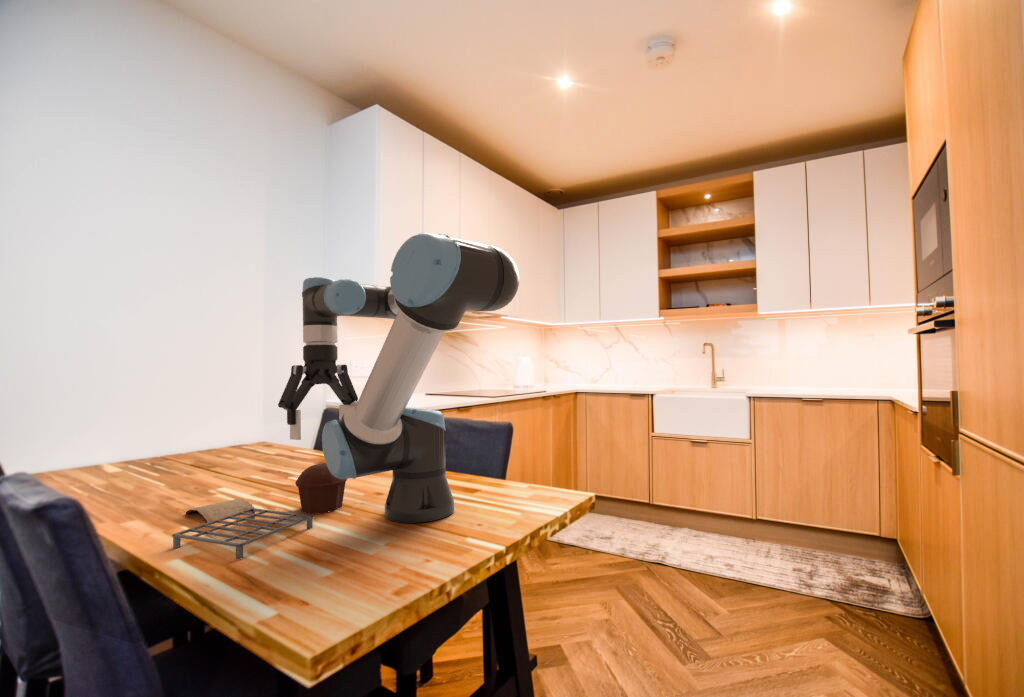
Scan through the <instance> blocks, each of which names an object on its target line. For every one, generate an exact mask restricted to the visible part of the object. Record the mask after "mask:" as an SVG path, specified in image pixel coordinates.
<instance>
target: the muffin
mask: <svg viewBox="0 0 1024 697" xmlns="http://www.w3.org/2000/svg"><path fill="white" fill-rule="evenodd" d="M347 480H348V479H338V478H336V477H334V476H333V475H332V474H331V472H330V471H329V469H328V467H327V464H326V462H324V463H323V462H322V463H317V464H313V465H310V466H308V467H306V469H304V470H303V471H302V472H301V473H300V474H299V476H298V477H297V480H296V481H295V486H296V487H297V488H298V489H297V490H298V495H299V500H300V508H301V512H306V513H305V514H308V513H310V514H309V515H313V514H312V513H320V514H325V513H324V512H327V513H329V512H328V511H331V512H334V511H333V510H336V511H337V510H338V508H339V509H341V508H343V501H344V494H345V489H346V484H347V483H346V482H347ZM340 507H341V508H340Z"/></svg>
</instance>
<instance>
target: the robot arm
mask: <svg viewBox="0 0 1024 697" xmlns="http://www.w3.org/2000/svg"><path fill="white" fill-rule="evenodd" d="M390 272H391V273H392V274H391V276H390V277H389V284H390V286H385V285H384V286H383V285H382V286H380V285H374V284H366V283H365V284H364V283H359V282H357V281H356V280H354V279H347V278H346V279H338V280H335V279H333V278H330V277H324V276H323V277H319V276H318V277H317V276H315V277H307V278H305V279H304V280H303V282H302V291H301V297H302V342H303V343H304V344H305V345H304V346H303V347H302V360H303V361H304V365H302V364H298V365H297V364H294V365H292V366H291V369H290V376H289V378H288V381H287V382H286V385H285V388H284V390H283V392H282V395H281V397H280V399H279V401H278V404H277V406H278V407H279V408H281V409H283V410H284V411H285V410H286V424H287V425H288V426H289V439H290V440H294V441H299V440H300V441H301V440H302V434H301V433H302V432H301V431H302V430H301V429H302V425H301V424H302V423H301V422H302V421H301V420H302V418H301V416H302V415H301V414H302V413H301V409H298V408H299V407H300V405H301V404H302V402H303V400H304V399H305V397H307V395H308V393H309V392H310V391H311V389H312V388H313V387H314V386H315V385H327V386H329V387H330V389H331V390H332V391H333V393H334V394H335V395H336V397H337V398H338V399H339V401H340V402H341V403H342V404H338V405H339V409H338V410H339V411H338V412H339V413H338V414H339V416H338V417H339V419H332V420H329V421H327V422H326V423H325V424H324V427H323V429H322V434H321V443H322V444H321V445H322V452H323V457H324V460H325V463H326V464H327V467H328V469H329V471H330V472H331V474H332V475H333V476H334V477H336V478H338V479H347V480H348V479H353V480H355V479H356V478H362V477H366V476H370V475H376V474H382V473H386V472H390V471H392V479H391V480H392V481H391V484H390V486H389V491H388V494H387V496H386V500H385V503H384V517H385V518H386V519H387V520H389V521H392V522H396V523H404V524H406V523H408V524H411V523H412V524H413V523H414V524H417V523H418V524H419V523H427V522H433V521H437V520H440V519H441V520H442V519H443V518H447V517H449V516H451V515H452V514H453V513H454V512H455V498H454V496H453V493H452V491H451V488H450V484H449V481H448V478H447V475H446V474H447V473H446V470H447V469H446V431H447V429H446V424H445V416H444V414H443V413H442V412H441V411H440V410H437V409H436V410H435V409H424V408H413V407H411V408H410V407H407V406H408V403H409V401H410V400H411V398H412V396H413V393H414V392H415V390H416V388H417V386H418V384H419V382H420V380H421V378H422V377H423V374H424V373H425V370H426V369H427V366H428V365H429V363H430V361H431V359H432V358H433V355H434V353H435V351H436V350H437V347H438V345H439V343H440V341H441V339H442V337H443V336H444V334H445V333H447V332H452V331H454V330H455V329H457V327H458V326H459V324H460V322H461V320H462V318H463V316H464V314H465V313H466V312H467V311H468V312H469V311H470V312H471V311H472V312H495V311H498V310H501V309H503V308H504V307H506V306H508V305H509V303H511V302H512V301H513V299H514V298H515V296H516V295H517V292H518V289H519V286H520V274H519V270H518V266H517V264H516V263H515V261H514V260H513V258H512V257H511V256H510V255H509V253H507V252H506V251H504V250H503V249H501V248H499V247H497V246H495V245H491V244H485V243H480V242H476V241H471V240H465V239H462V238H457V237H452V236H451V235H448V234H445V233H444V234H442V233H431V232H429V233H428V232H421V233H418V234H415V235H413V236H411V237H409V238H408V239H406V240H405V241H404V242H403V243H402V244H401V246H400V247H399V248H398V250H397V251H396V254H395V256H394V258H393V260H392V263H391V267H390ZM338 317H355V318H356V317H357V318H376V319H377V318H379V319H390V320H391V319H392V320H393V322H392V325H391V327H390V329H389V331H388V333H387V335H386V338H385V341H384V343H383V344H382V347H381V349H380V351H379V353H378V356H377V358H376V360H375V362H374V364H373V367H372V370H371V371H370V374H369V377H368V379H367V380H366V382H365V385H364V387H363V389H362V392H361V394H360V396H359V397H358V394H357V392H356V390H355V388H354V385H353V382H352V380H351V378H350V375H349V371H348V365H347V364H336V363H337V360H338V346H337V345H336V343H338ZM336 374H337V375H336ZM303 375H305V376H304V377H303ZM302 377H303V379H302ZM300 382H301V384H300Z"/></svg>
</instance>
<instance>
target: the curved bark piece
mask: <svg viewBox="0 0 1024 697" xmlns="http://www.w3.org/2000/svg"><path fill="white" fill-rule="evenodd" d="M251 508H255V507H254V506H253V504H252V503H251V502H249V501H248V500H244V498H241V497H238V498H233V499H231V500H227V501H221V502H216V503H212V504H208V505H203V506H198V507H193V508H191V509H188V510H186V512H185V514H190V513H194V512H195V511H196V512H198V513H199V514H200V515H202V516H203V518H204V519H205V520H206V523H208V522H211V521H214V520H217V519H220V518H223V517H226V516H230V515H233V514H236V513H239V512H242V511H245V510H248V509H251ZM255 512H256V511H255ZM247 513H249V512H247ZM256 513H257V512H256ZM238 516H239V517H241V516H240V515H238ZM235 517H236V516H235Z"/></svg>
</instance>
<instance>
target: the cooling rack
mask: <svg viewBox="0 0 1024 697" xmlns="http://www.w3.org/2000/svg"><path fill="white" fill-rule="evenodd" d="M255 511H256V513H255ZM247 512H249V513H247ZM266 514H272V515H266ZM274 514H275V515H283V516H284V517H283V516H274ZM238 515H243V516H245V517H242V516H239V517H235V516H238ZM256 517H257V518H263V519H271V521H270V520H262V519H256ZM294 517H299V518H301V519H298V518H294ZM313 518H314V514H306V513H295V512H290V511H289V512H288V511H287V512H286V511H280V510H271V509H262V508H255V507H254V508H251V509H248V510H245V511H242V512H239V513H236V514H233V515H230V516H226V517H223V518H220V519H217V520H214V521H211V522H205V523H203V524H200V525H196V526H194V527H191V528H187V529H184V530H181V531H177V532H176V533H172V534H171V535H172V536H171V537H172V539H173V541H172V542H173V544H172V547H173V548H172V549H178V548H181V542H182V541H181V539H185V540H192V541H197V542H204V543H211V544H215V545H220V546H221V545H222V546H229V547H235V559H236V560H239V559H240V560H242V559H244V546H246V545H249V544H251V543H253V542H256V541H258V540H261V539H263V538H266V537H268V536H271V535H274V534H275V533H278V532H281V531H283V530H286V529H289V528H291V527H293V526H296V525H298V524H301V523H303V522H306V529H307V530H311V529H313V527H314V526H313V521H314V520H313ZM272 519H273V520H274V521H272ZM227 520H234V521H227ZM284 521H287V523H286V522H284ZM288 521H289V522H291V523H288ZM242 522H250V523H252V522H253V523H258V524H259V523H260V524H263V525H257V524H250V523H242ZM214 524H221V525H214ZM273 525H274V526H280V527H271V526H273ZM229 526H239V527H245V528H250V530H249V529H247V530H246V529H240V528H234V527H229ZM202 528H206V529H207V528H208V530H201V529H202ZM310 528H311V529H310ZM218 530H220V531H221V530H222V531H227V532H235V533H239V534H237V535H233V534H229V533H222V532H216V531H218ZM260 530H265V531H268V532H261V531H260ZM187 533H196V534H193V535H188V534H187ZM203 535H209V536H215V537H221V538H222V537H223V538H227V539H223V540H220V539H213V538H207V537H201V536H203ZM248 535H255V537H249V536H248ZM235 540H241V541H242V542H240V543H239V542H233V541H235ZM241 558H242V559H241Z"/></svg>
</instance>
